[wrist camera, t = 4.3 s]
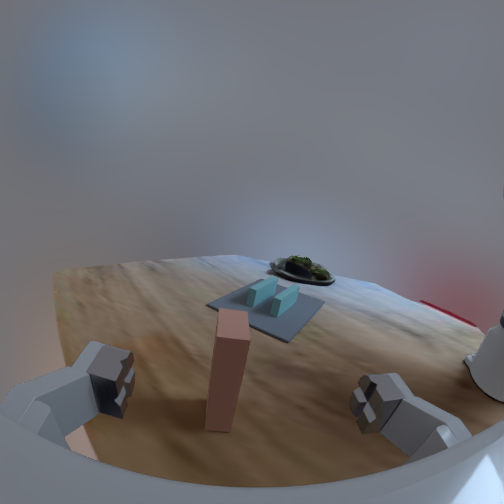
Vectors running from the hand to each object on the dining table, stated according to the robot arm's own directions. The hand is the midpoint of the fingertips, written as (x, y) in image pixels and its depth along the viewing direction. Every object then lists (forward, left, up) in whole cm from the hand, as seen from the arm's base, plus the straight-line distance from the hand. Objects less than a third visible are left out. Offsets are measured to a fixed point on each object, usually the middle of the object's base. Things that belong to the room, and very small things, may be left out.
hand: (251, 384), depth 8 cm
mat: (-22, -36, -17) cm, 45 cm away
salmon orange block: (-4, -12, -17) cm, 21 cm away
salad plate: (-40, -53, -17) cm, 68 cm away
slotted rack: (-22, -36, -17) cm, 45 cm away
